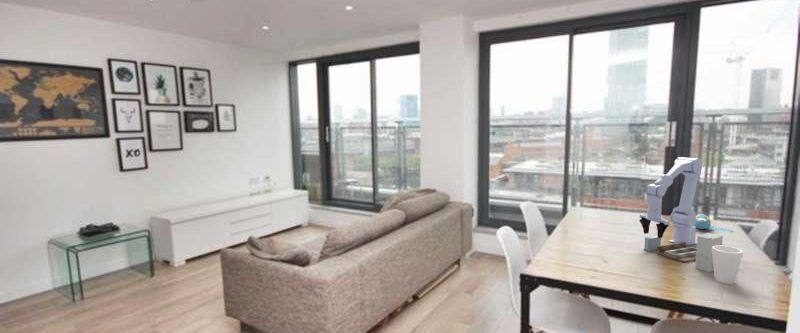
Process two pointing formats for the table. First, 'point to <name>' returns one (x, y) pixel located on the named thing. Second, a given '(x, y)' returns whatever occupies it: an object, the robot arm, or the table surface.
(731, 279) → the foam cup
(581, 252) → the table surface
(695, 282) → the table surface
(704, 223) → the blue toy animal
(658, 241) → the door panel
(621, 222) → the table surface
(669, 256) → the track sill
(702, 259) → the skincare box
